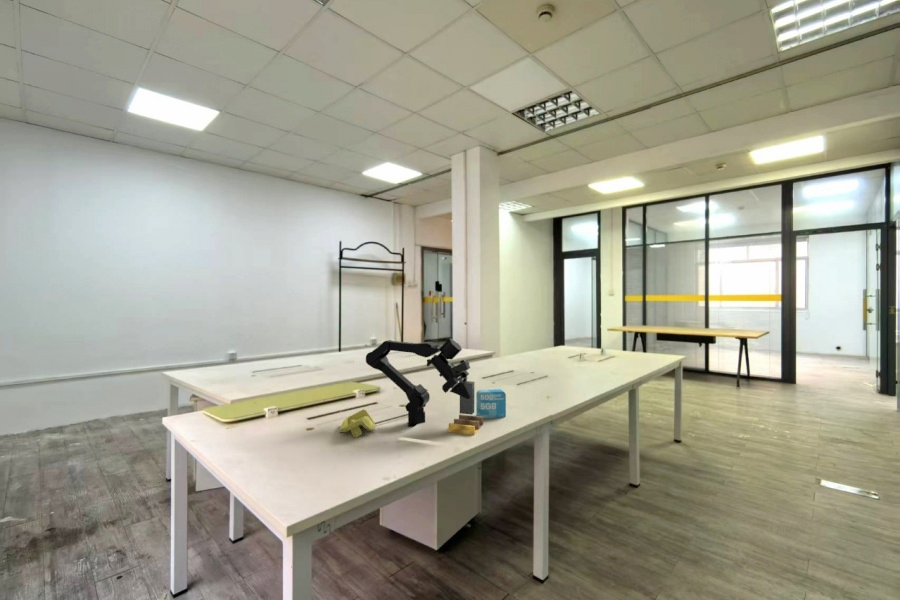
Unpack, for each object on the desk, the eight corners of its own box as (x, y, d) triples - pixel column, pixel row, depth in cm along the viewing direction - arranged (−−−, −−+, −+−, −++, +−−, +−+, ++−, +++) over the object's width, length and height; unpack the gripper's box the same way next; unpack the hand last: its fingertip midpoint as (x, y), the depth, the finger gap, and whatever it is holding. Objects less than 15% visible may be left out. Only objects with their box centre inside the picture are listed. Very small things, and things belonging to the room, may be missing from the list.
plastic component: (344, 418, 155) (367, 407, 157) (352, 435, 155) (375, 423, 157) (337, 431, 135) (363, 417, 137) (346, 449, 135) (372, 436, 137)
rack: (448, 434, 143) (448, 423, 143) (459, 424, 155) (459, 414, 155) (474, 437, 139) (473, 426, 139) (483, 426, 151) (483, 416, 152)
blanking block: (459, 413, 147) (459, 382, 147) (462, 410, 151) (462, 380, 151) (471, 414, 146) (472, 383, 146) (474, 412, 149) (474, 381, 149)
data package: (478, 420, 160) (478, 392, 160) (476, 417, 164) (476, 389, 164) (506, 419, 161) (505, 391, 161) (503, 416, 166) (503, 389, 166)
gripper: (450, 357, 141) (478, 389, 137) (464, 351, 158) (490, 379, 155) (430, 376, 143) (458, 408, 140) (446, 368, 161) (471, 396, 157)
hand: (470, 397), depth 148 cm, fingers closed on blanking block, 3 cm apart
